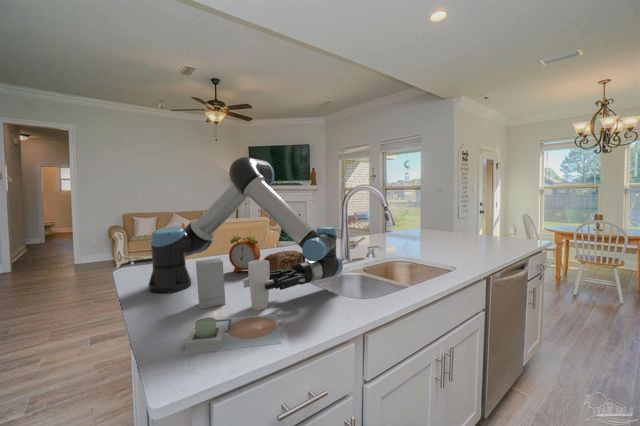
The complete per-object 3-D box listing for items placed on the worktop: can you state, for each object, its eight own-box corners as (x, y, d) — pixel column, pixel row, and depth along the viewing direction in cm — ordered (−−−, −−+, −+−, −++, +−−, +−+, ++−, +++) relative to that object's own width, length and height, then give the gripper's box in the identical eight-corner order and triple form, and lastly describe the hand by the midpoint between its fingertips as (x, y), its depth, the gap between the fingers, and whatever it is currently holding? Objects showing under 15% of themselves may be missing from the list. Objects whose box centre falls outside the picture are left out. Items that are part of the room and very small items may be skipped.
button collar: (192, 335, 77) (192, 327, 77) (224, 332, 79) (224, 324, 79) (184, 351, 70) (184, 343, 69) (221, 347, 71) (220, 339, 71)
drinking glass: (266, 312, 93) (264, 265, 92) (245, 311, 94) (244, 264, 93) (273, 304, 99) (272, 260, 98) (254, 303, 101) (253, 259, 100)
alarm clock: (228, 273, 139) (227, 230, 138) (234, 269, 145) (233, 228, 144) (256, 273, 138) (255, 230, 136) (260, 270, 144) (259, 228, 142)
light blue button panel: (199, 322, 86) (199, 320, 86) (276, 315, 90) (276, 313, 90) (184, 356, 69) (183, 353, 69) (280, 345, 73) (280, 342, 73)
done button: (197, 330, 76) (197, 318, 76) (217, 328, 77) (217, 316, 77) (193, 339, 71) (192, 326, 71) (214, 337, 72) (214, 324, 72)
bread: (277, 279, 128) (277, 256, 128) (261, 275, 135) (260, 253, 134) (306, 270, 143) (306, 249, 142) (290, 267, 150) (290, 247, 149)
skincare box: (223, 299, 105) (221, 257, 104) (225, 305, 100) (224, 260, 99) (197, 303, 101) (195, 260, 100) (198, 309, 96) (196, 263, 95)
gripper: (324, 288, 102) (265, 306, 87) (291, 277, 117) (235, 290, 101) (324, 266, 102) (264, 280, 86) (291, 257, 116) (235, 268, 101)
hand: (249, 285), depth 94 cm, fingers closed on drinking glass, 6 cm apart
